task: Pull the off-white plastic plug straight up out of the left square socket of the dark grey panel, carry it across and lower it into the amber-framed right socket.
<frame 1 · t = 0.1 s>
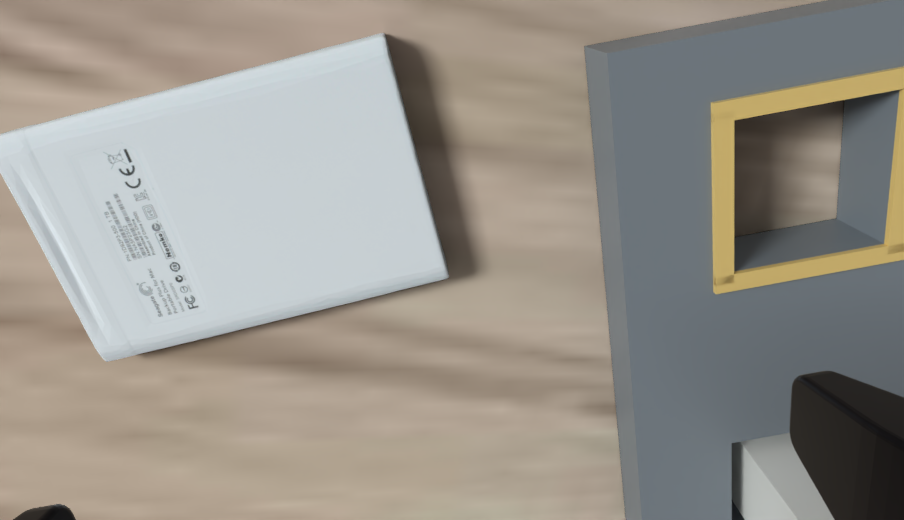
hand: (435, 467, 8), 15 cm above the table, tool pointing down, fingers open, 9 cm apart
panel: (765, 315, 24), on the table
plug: (762, 440, 27), resting in panel
external hard drive: (243, 198, 22), on the table
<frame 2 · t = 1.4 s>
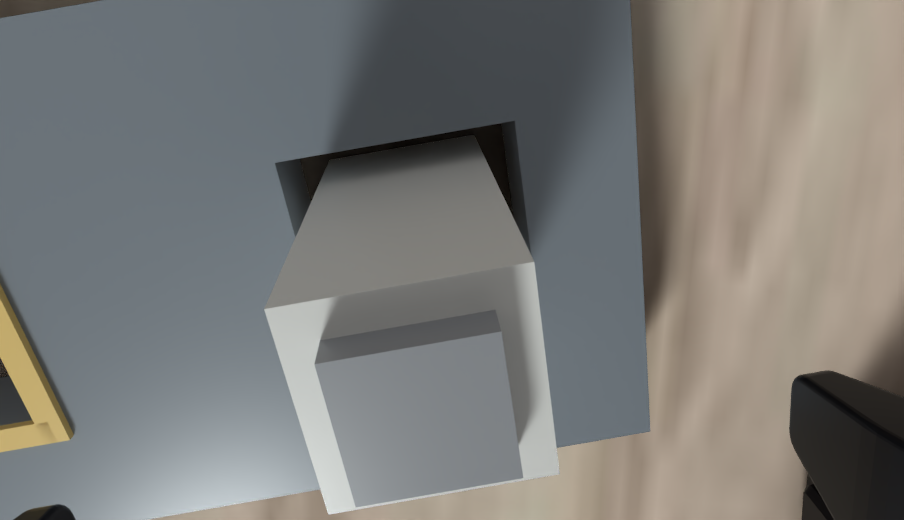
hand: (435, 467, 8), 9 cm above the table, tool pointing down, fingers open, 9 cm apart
panel: (184, 256, 16), on the table
plug: (415, 215, 16), resting in panel
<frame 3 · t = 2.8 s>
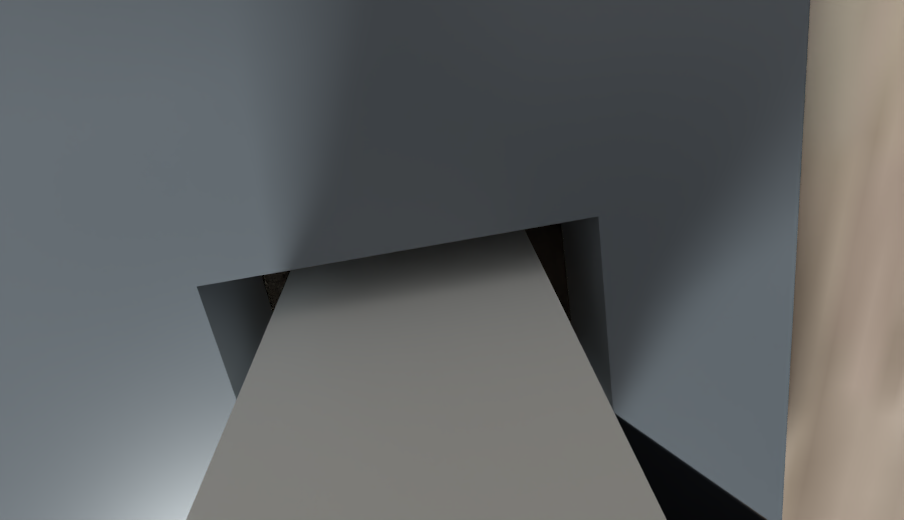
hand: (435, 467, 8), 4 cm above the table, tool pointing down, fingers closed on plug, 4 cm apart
panel: (87, 388, 11), on the table
plug: (426, 327, 11), resting in panel, touching gripper
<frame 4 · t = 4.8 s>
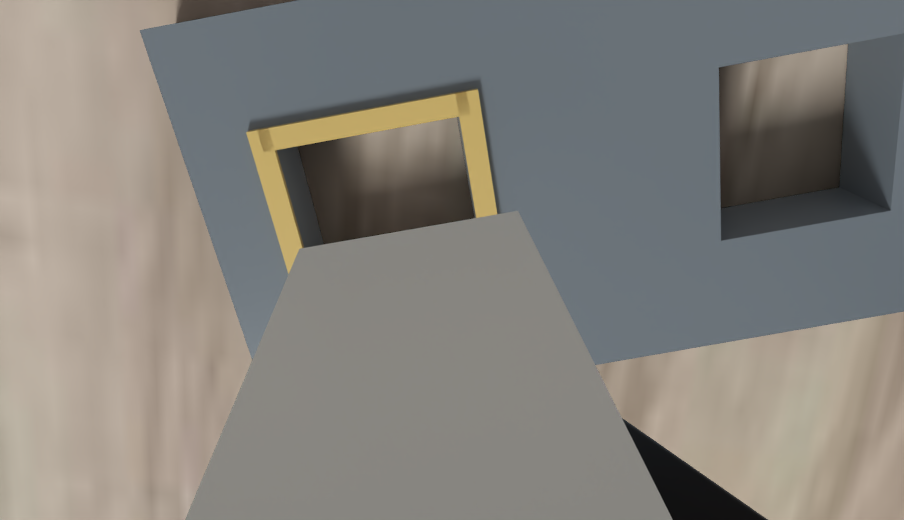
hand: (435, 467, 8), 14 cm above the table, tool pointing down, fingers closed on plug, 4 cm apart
panel: (576, 160, 20), on the table
plug: (427, 325, 11), point 10 cm above the table, touching gripper
when the fingers open (4 cm above the table, at t = 6.8 s): plug stays where it is, resting in panel.
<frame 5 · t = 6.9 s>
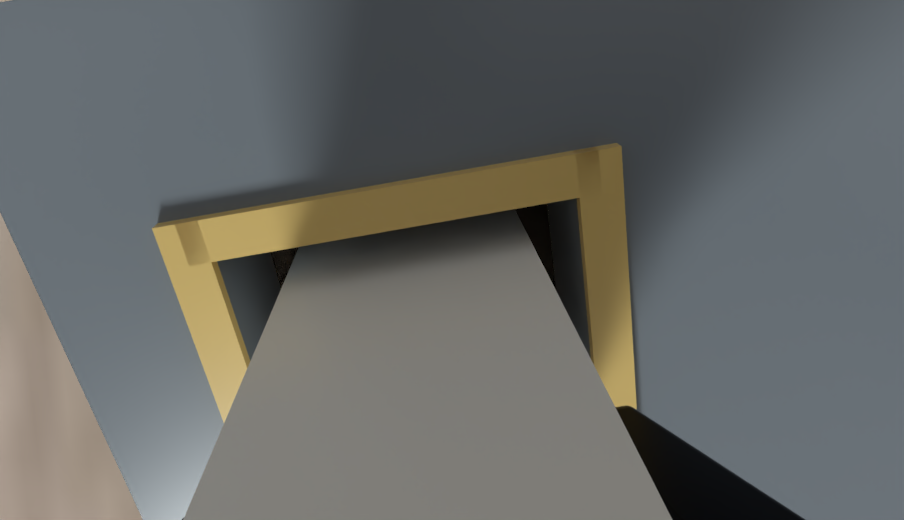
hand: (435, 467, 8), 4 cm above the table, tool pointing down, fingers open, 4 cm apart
panel: (739, 248, 12), on the table
plug: (425, 305, 12), resting in panel
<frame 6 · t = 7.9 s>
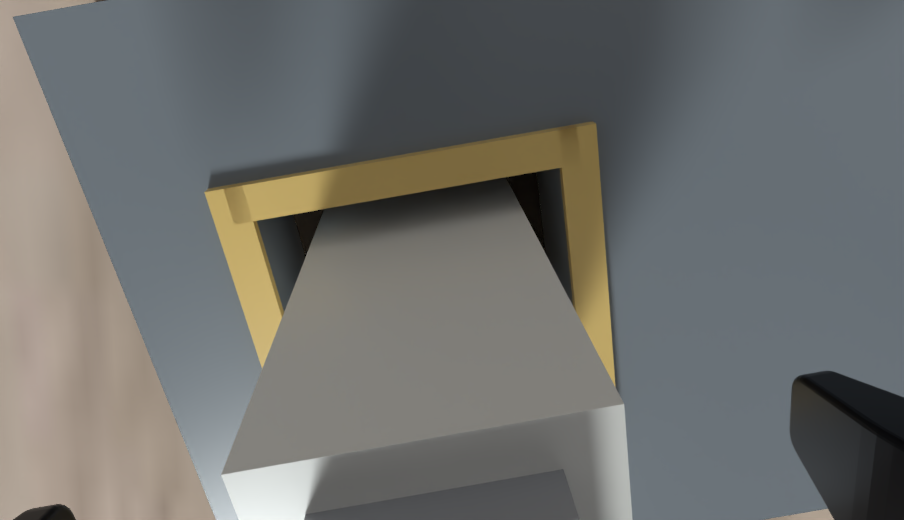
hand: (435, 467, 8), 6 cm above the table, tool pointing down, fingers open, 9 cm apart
panel: (706, 220, 14), on the table
plug: (430, 266, 14), resting in panel
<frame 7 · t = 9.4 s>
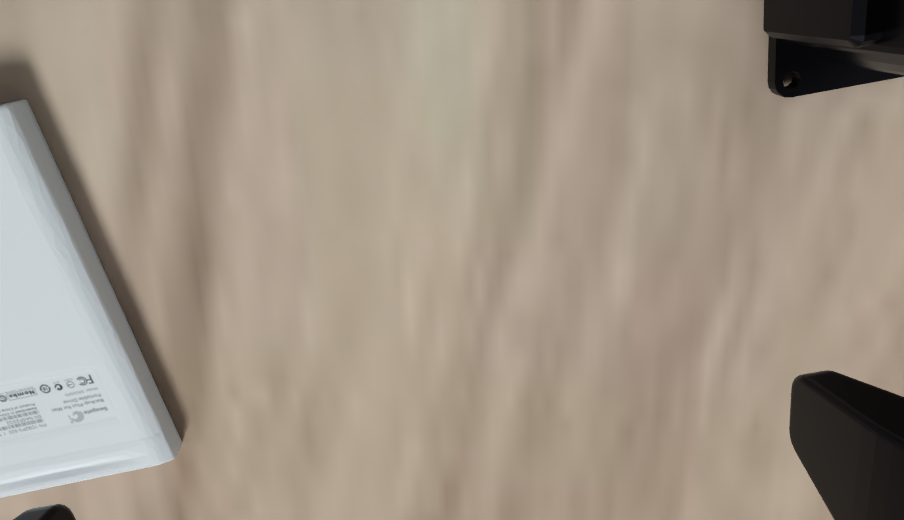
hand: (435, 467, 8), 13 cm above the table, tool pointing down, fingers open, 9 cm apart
external hard drive: (3, 307, 21), on the table
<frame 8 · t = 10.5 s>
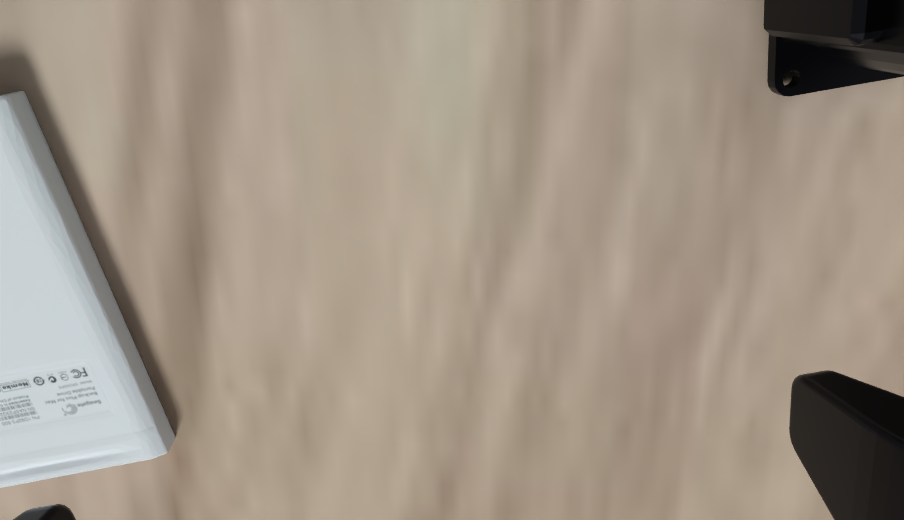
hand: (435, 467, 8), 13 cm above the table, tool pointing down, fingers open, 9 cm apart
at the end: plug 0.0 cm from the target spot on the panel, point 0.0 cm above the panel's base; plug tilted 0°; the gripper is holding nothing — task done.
